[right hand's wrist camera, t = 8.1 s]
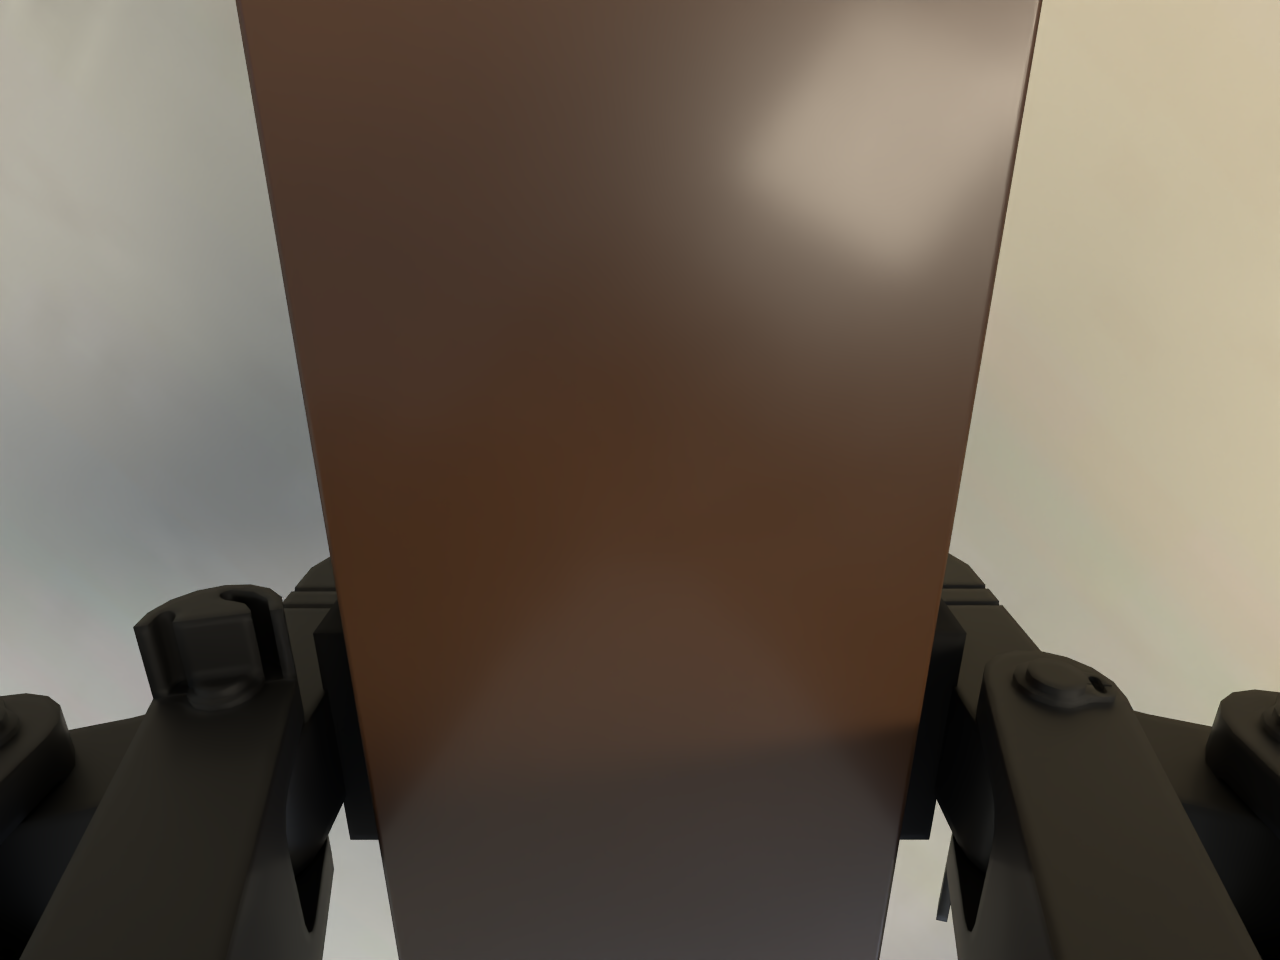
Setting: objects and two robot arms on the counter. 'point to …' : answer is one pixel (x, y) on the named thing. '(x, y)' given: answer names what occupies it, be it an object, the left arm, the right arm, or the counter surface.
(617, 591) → the walnut beam
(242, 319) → the counter surface
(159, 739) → the right robot arm
